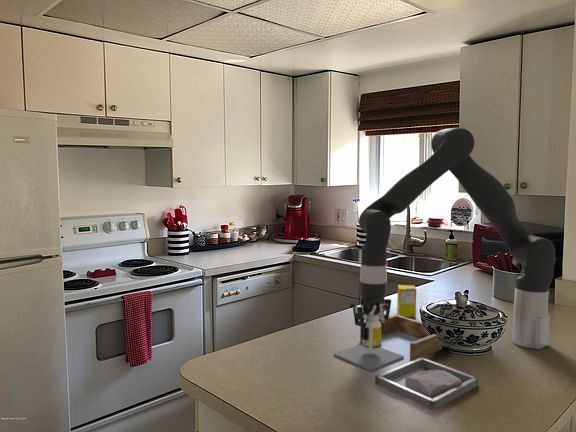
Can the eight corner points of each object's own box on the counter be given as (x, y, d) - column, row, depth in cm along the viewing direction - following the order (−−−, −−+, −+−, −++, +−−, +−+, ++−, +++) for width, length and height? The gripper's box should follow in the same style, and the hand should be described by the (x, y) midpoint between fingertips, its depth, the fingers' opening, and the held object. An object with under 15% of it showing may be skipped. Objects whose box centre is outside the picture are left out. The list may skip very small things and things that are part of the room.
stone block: (401, 395, 123) (431, 404, 115) (399, 375, 123) (429, 383, 115) (434, 385, 129) (466, 393, 121) (432, 367, 130) (464, 373, 121)
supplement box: (413, 314, 180) (414, 284, 179) (415, 319, 175) (416, 289, 173) (396, 313, 181) (397, 284, 180) (398, 318, 175) (399, 288, 174)
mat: (403, 358, 141) (403, 356, 141) (370, 371, 132) (370, 369, 132) (366, 343, 151) (366, 342, 151) (333, 355, 143) (333, 353, 143)
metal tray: (477, 385, 124) (478, 378, 123) (432, 410, 112) (433, 401, 112) (421, 364, 137) (421, 357, 137) (375, 383, 125) (375, 376, 125)
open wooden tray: (448, 346, 149) (449, 330, 149) (413, 361, 139) (413, 344, 138) (395, 328, 165) (396, 314, 164) (360, 340, 154) (360, 325, 153)
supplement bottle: (382, 344, 144) (383, 312, 143) (379, 351, 139) (380, 318, 138) (364, 342, 146) (364, 310, 145) (360, 349, 141) (361, 316, 140)
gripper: (365, 286, 133) (364, 347, 135) (399, 278, 142) (398, 335, 144) (345, 281, 138) (344, 339, 140) (379, 273, 147) (378, 328, 149)
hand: (371, 337), depth 142 cm, fingers closed on supplement bottle, 5 cm apart
